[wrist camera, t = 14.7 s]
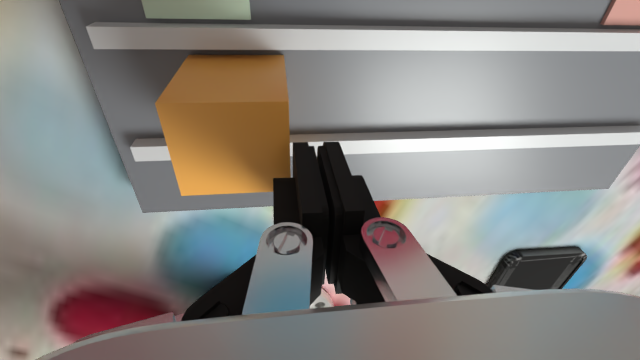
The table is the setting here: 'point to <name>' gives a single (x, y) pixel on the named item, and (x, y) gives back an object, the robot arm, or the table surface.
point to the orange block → (227, 123)
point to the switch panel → (389, 88)
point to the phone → (538, 268)
